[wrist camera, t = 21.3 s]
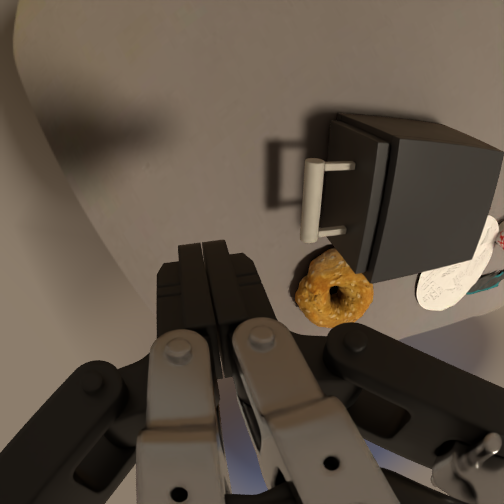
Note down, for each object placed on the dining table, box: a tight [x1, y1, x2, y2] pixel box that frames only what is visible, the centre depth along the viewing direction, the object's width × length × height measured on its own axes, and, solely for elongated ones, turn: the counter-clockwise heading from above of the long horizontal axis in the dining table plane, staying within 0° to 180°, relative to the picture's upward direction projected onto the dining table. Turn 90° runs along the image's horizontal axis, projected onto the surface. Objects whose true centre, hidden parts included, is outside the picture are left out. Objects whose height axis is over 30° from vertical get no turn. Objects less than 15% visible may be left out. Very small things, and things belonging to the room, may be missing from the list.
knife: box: [466, 270, 504, 294], centre depth 50 cm, size 24×1×5 cm
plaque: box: [417, 215, 499, 311], centre depth 43 cm, size 20×20×2 cm
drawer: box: [300, 121, 391, 274], centre depth 27 cm, size 18×12×8 cm, turn 91°
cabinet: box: [337, 113, 504, 284], centre depth 27 cm, size 15×13×10 cm
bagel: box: [295, 248, 373, 328], centre depth 36 cm, size 10×11×5 cm
